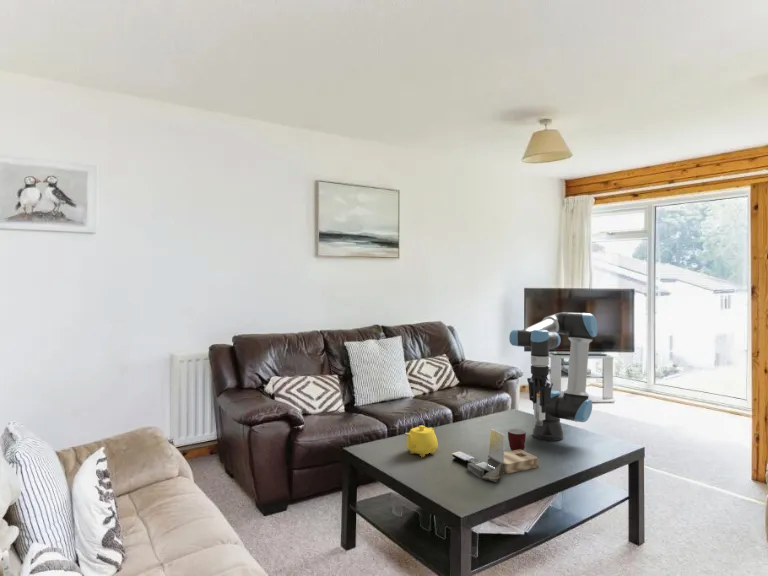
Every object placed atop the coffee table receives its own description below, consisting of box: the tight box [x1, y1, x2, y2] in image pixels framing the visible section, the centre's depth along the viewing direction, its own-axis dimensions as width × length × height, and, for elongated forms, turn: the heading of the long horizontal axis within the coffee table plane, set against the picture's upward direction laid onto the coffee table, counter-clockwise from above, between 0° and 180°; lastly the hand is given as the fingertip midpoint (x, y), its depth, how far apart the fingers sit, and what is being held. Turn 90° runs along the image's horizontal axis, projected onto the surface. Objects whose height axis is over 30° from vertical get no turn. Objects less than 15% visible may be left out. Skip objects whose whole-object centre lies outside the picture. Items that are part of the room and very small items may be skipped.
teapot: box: [404, 425, 439, 458], centre depth 234 cm, size 14×20×13 cm
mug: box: [507, 428, 527, 451], centre depth 233 cm, size 10×8×10 cm
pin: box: [535, 393, 543, 426], centre depth 218 cm, size 3×3×14 cm
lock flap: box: [487, 428, 506, 465], centre depth 215 cm, size 1×10×13 cm, turn 25°
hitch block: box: [467, 449, 539, 478], centre depth 216 cm, size 30×12×4 cm, turn 115°
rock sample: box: [481, 464, 504, 484], centre depth 204 cm, size 10×8×9 cm
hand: (539, 418), depth 218 cm, fingers closed on pin, 2 cm apart
